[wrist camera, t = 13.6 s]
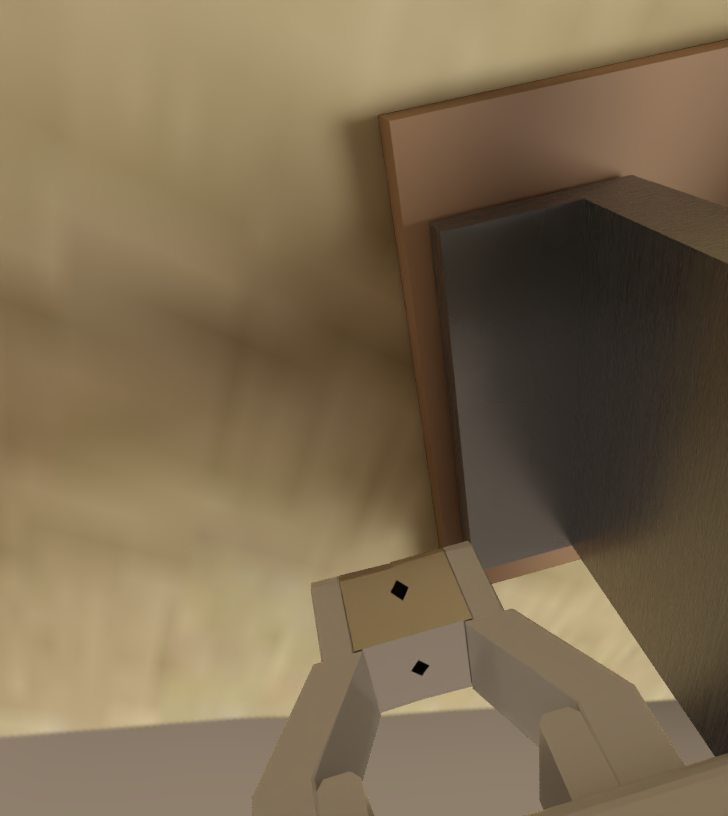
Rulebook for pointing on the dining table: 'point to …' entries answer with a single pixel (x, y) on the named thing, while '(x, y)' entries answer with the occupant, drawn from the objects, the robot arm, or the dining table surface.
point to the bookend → (600, 406)
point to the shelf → (539, 191)
